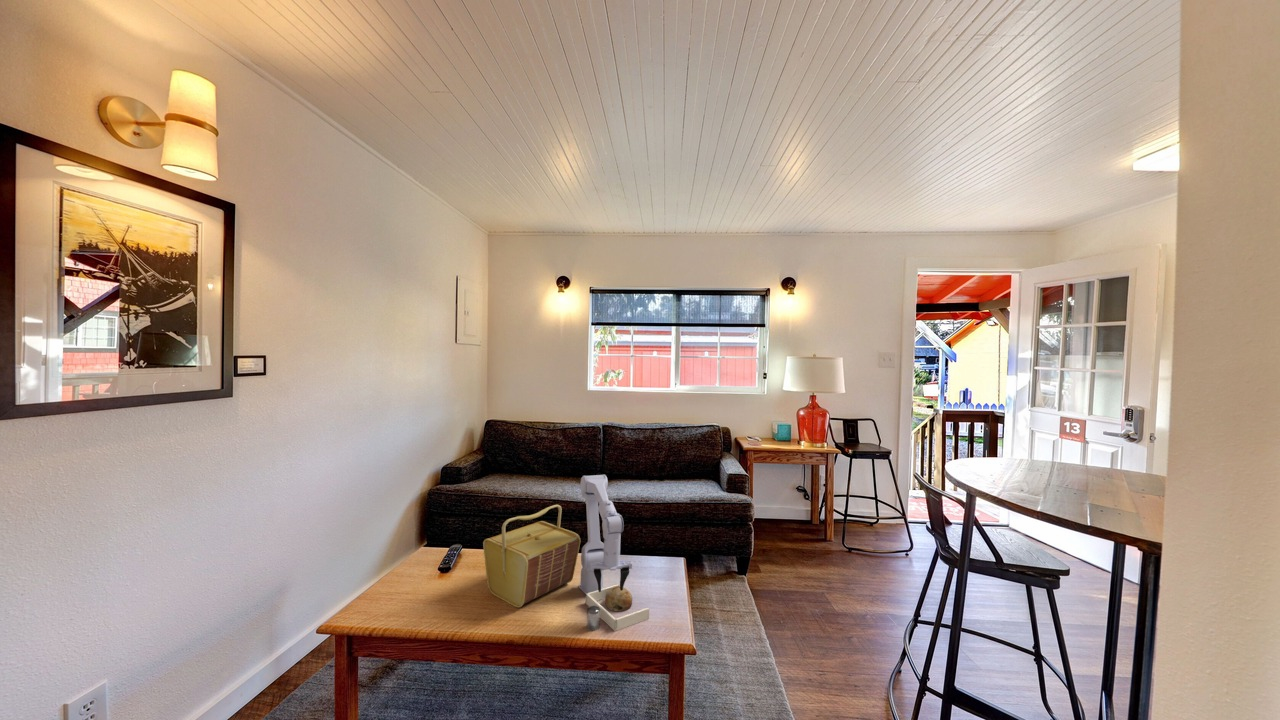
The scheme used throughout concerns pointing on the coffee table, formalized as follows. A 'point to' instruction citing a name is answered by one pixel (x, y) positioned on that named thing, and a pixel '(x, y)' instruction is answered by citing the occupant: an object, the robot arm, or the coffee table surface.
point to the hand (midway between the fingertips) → (610, 589)
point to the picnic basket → (530, 559)
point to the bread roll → (618, 599)
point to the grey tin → (593, 618)
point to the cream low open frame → (608, 618)
